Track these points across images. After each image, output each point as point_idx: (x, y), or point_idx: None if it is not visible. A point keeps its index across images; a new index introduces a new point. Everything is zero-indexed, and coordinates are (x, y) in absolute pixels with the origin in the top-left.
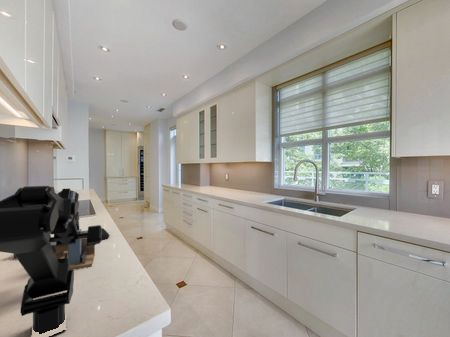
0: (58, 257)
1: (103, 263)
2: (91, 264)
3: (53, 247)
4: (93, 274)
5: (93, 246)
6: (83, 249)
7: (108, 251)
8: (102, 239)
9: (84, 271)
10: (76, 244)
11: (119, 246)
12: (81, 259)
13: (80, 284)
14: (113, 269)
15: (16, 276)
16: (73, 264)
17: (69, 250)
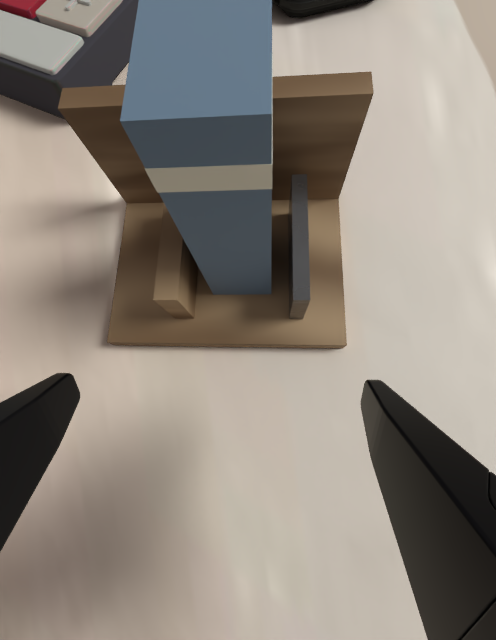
0: (150, 193)
1: (405, 339)
2: (341, 346)
3: (1, 453)
4: (367, 473)
5: (344, 160)
6: (279, 170)
7: (410, 175)
8: (351, 2)
9: (308, 398)
10: (242, 227)
11: (470, 128)
12: (274, 251)
13: (310, 577)
14: (488, 467)
15: (6, 286)
16: (239, 302)
17: (197, 251)
